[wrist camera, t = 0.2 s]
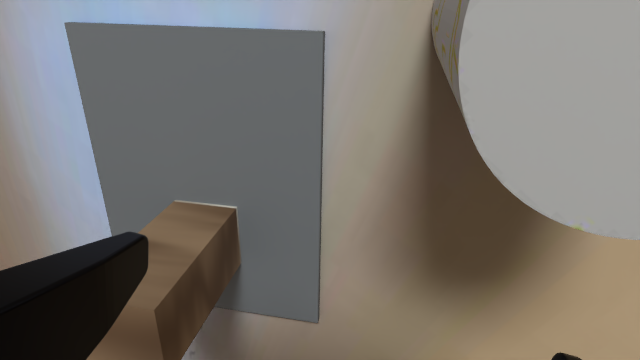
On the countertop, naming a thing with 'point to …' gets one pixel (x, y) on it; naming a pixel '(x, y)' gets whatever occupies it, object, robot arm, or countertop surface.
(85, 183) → the countertop surface
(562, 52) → the cup
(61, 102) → the countertop surface
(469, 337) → the countertop surface
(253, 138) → the mat
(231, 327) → the countertop surface
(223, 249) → the walnut block
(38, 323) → the robot arm
